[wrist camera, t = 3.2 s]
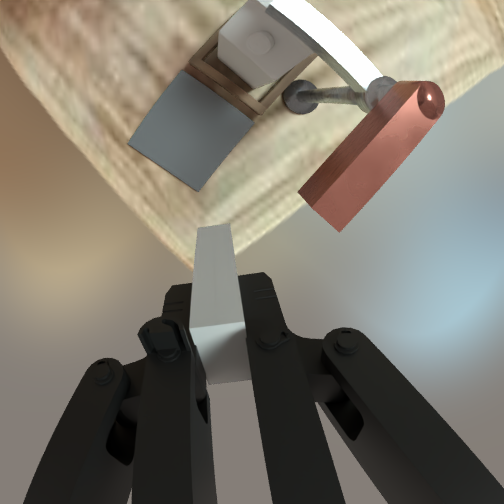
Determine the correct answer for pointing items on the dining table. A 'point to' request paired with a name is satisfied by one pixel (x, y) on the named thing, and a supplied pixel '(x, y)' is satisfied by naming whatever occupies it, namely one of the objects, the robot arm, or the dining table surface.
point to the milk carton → (259, 45)
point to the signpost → (370, 128)
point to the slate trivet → (190, 130)
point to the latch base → (291, 97)
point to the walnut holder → (227, 84)
